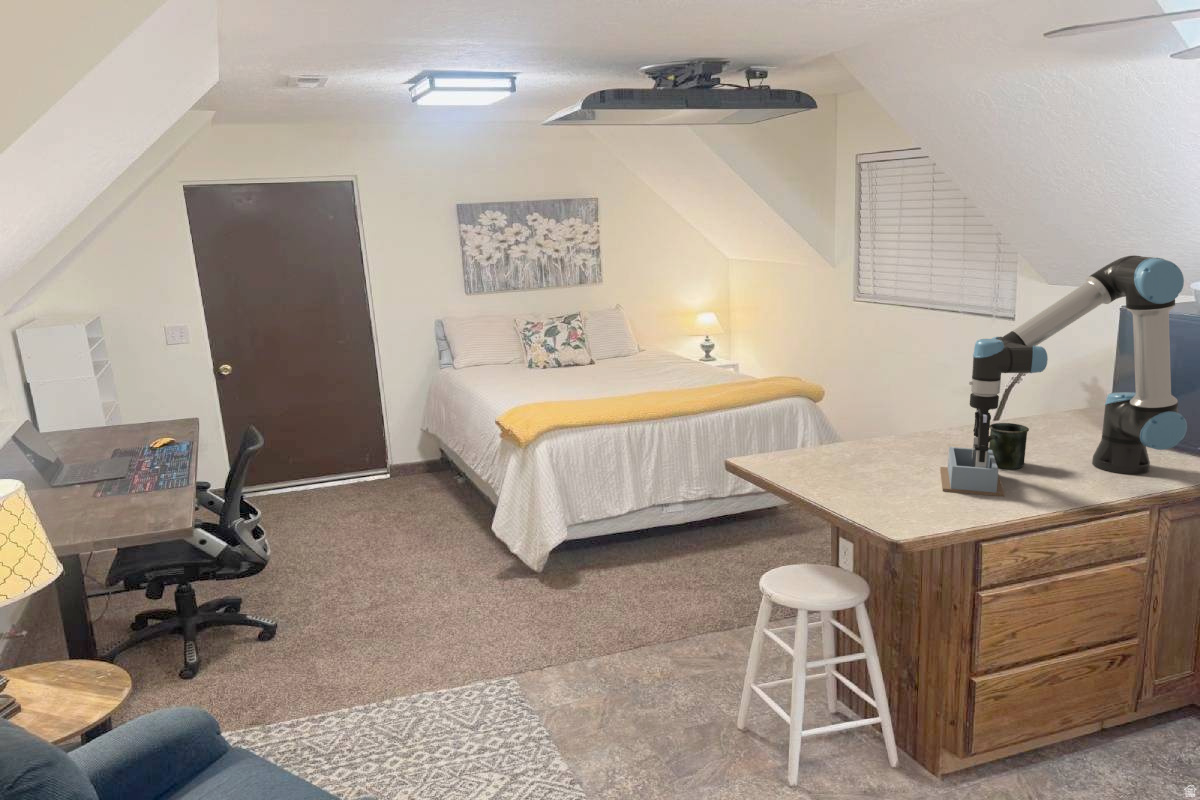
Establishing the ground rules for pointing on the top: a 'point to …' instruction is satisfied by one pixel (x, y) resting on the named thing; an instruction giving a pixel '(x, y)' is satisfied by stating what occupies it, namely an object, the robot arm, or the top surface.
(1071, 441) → the top surface
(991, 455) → the box
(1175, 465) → the top surface
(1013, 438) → the mug
